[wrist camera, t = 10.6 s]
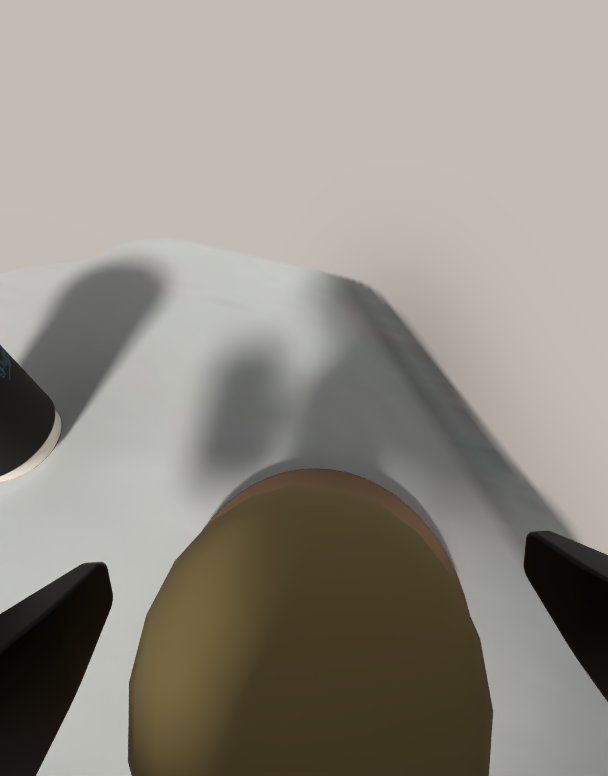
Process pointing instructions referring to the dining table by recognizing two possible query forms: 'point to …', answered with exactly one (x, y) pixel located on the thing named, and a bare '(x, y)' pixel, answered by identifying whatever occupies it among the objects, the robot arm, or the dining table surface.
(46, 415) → the dixie cup
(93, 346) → the dining table surface
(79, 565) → the robot arm
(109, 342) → the dining table surface
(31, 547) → the dining table surface
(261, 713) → the olive chess pawn
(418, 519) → the walnut trivet
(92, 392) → the dining table surface
